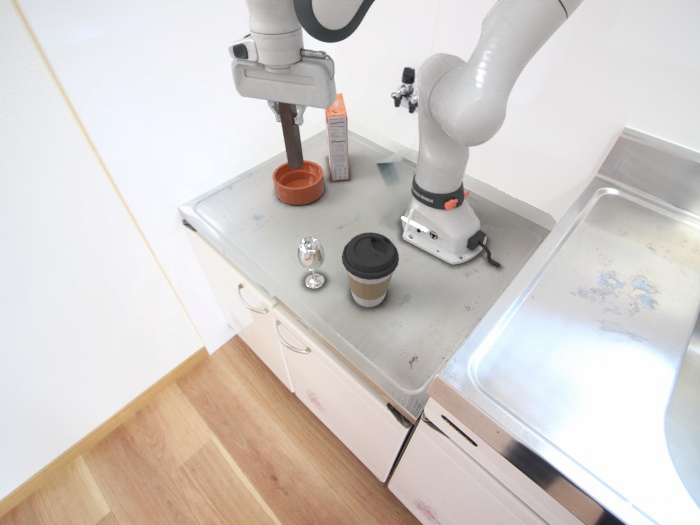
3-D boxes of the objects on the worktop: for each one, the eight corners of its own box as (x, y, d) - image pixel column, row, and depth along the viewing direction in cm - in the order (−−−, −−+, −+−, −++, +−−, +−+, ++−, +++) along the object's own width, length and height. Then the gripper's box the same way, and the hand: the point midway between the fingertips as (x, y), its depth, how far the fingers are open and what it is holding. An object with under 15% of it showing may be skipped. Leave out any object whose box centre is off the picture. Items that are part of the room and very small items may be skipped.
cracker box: (327, 157, 115) (322, 93, 99) (345, 156, 115) (343, 92, 100) (330, 181, 106) (325, 115, 90) (349, 180, 106) (348, 113, 90)
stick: (303, 163, 78) (294, 91, 66) (299, 169, 77) (288, 96, 65) (293, 161, 79) (282, 89, 67) (288, 167, 77) (276, 95, 65)
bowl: (334, 192, 102) (333, 175, 98) (293, 213, 96) (290, 196, 92) (306, 171, 110) (304, 154, 105) (267, 189, 104) (263, 172, 99)
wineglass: (299, 276, 81) (292, 240, 72) (322, 268, 82) (318, 232, 73) (307, 294, 77) (300, 258, 68) (330, 286, 79) (327, 250, 70)
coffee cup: (404, 300, 76) (412, 254, 65) (361, 324, 72) (362, 280, 61) (374, 267, 82) (377, 221, 71) (334, 288, 78) (330, 242, 67)
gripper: (340, 46, 59) (342, 123, 70) (238, 35, 64) (254, 109, 75) (326, 58, 56) (331, 138, 66) (219, 46, 60) (239, 122, 71)
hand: (289, 122), depth 70 cm, fingers closed on stick, 2 cm apart
